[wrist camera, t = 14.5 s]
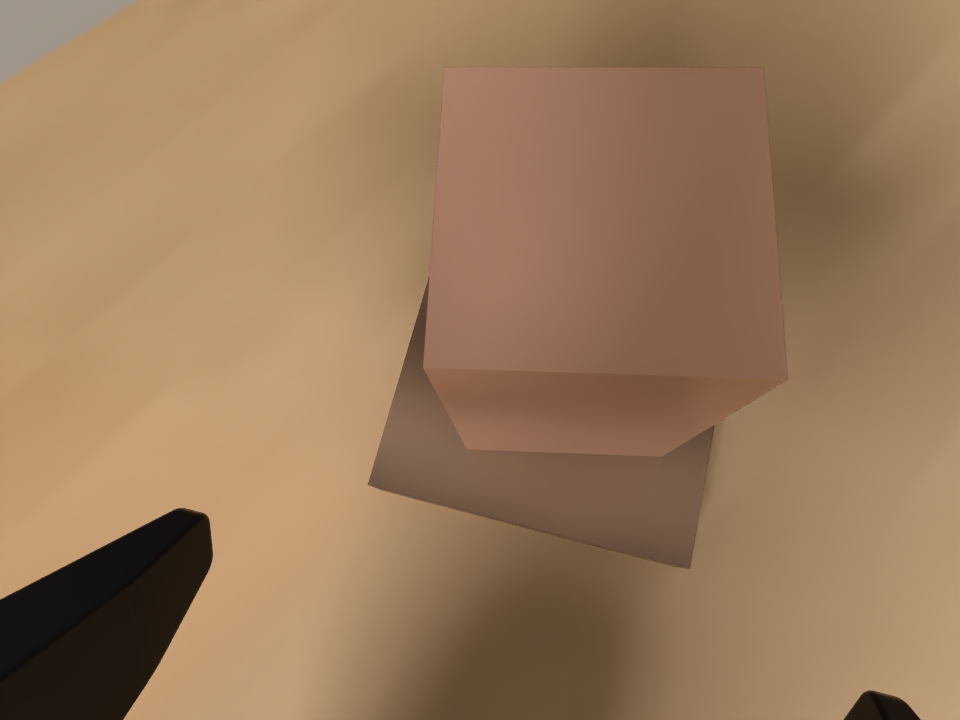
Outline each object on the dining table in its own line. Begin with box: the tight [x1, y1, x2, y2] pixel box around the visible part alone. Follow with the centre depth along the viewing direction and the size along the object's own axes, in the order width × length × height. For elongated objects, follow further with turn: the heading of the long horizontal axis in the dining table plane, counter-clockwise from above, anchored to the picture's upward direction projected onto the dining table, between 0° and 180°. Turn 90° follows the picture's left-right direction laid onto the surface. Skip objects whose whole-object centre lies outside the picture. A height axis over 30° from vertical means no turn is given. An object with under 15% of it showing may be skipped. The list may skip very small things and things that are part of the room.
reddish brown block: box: [423, 67, 788, 457], centre depth 17 cm, size 6×6×10 cm
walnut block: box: [368, 276, 714, 569], centre depth 23 cm, size 10×10×3 cm
